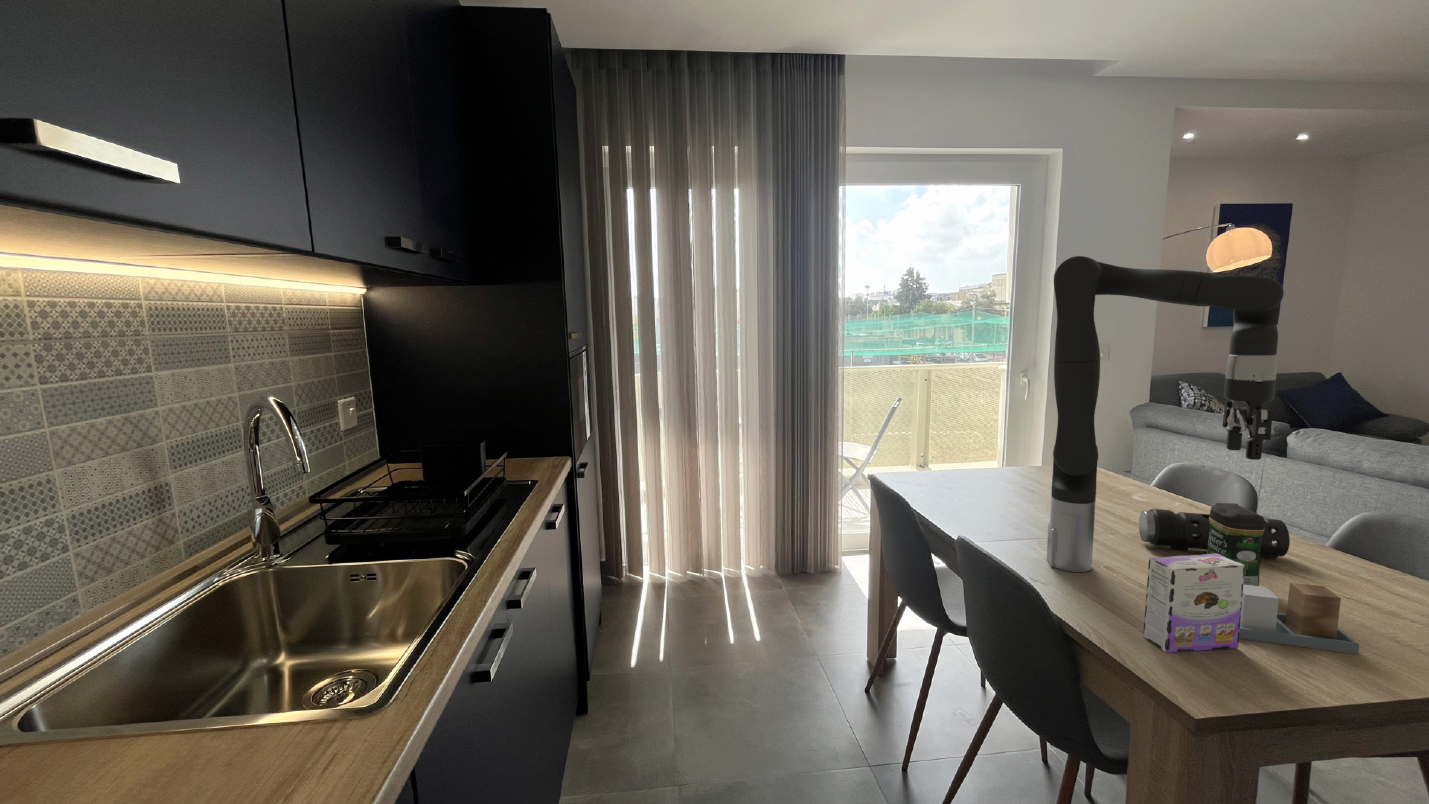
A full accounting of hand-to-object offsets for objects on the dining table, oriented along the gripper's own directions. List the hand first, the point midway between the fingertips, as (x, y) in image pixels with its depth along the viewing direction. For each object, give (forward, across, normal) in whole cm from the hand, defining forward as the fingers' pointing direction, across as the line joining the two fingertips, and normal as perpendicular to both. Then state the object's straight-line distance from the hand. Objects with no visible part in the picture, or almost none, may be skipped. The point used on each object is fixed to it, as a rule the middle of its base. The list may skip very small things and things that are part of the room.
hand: (1243, 454), depth 119 cm
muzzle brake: (+32, -29, +6) cm, 44 cm away
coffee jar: (+32, -8, +3) cm, 33 cm away
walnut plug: (+32, +13, +7) cm, 35 cm away
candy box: (+32, +22, -14) cm, 42 cm away
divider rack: (+32, +13, +3) cm, 35 cm away
